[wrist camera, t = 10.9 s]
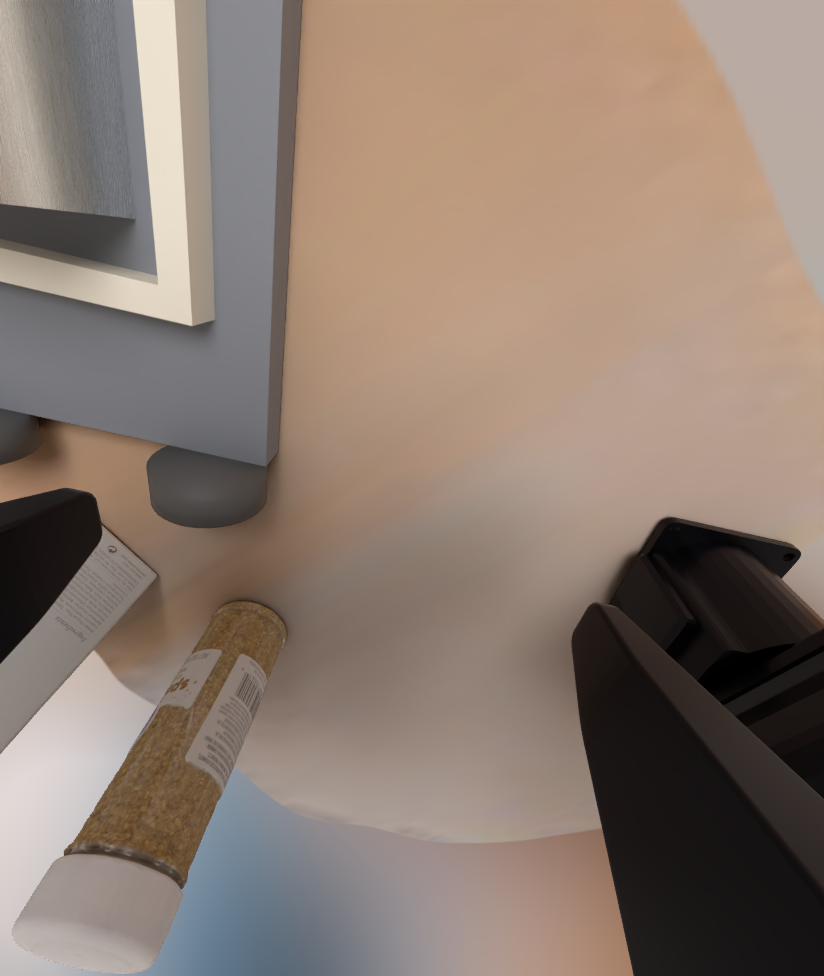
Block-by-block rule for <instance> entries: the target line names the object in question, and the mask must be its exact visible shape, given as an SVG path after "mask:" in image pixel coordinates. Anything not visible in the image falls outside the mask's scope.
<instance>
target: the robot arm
mask: <svg viewBox="0 0 824 976" xmlns="http://www.w3.org/2000/svg"><path fill="white" fill-rule="evenodd" d="M673 527H675V529H673V530H671V531H669V530H670V529H671V528H673ZM102 532H103V531H102V525H101V520H100V515H99V510H98V506H97V501H96V498H95V497H94V496H93V495H92V494H91V493H89V492H85V491H80V490H75V489H70V488H62V489H58V490H53V491H49V492H45V493H41V494H37V495H32V496H28V497H24V498H20V499H15V500H11V501H7V502H3V503H0V664H1V663H2V662H3V661H4V660H5V659H6V658H7V657H8V655H9V654H10V653H11V652H12V651H13V650H14V649H15V648H16V647H17V646H18V645H19V643H20V642H21V641H22V640H23V639H24V638H25V637H26V636H27V635H28V634H29V633H30V632H31V630H32V629H33V628H34V627H35V626H36V625H37V624H38V622H39V621H40V620H41V619H42V618H43V617H44V615H45V614H46V613H47V612H48V610H49V609H50V608H51V607H52V605H53V604H54V603H55V601H56V600H57V599H58V597H59V596H60V595H61V593H62V592H63V591H64V589H65V588H66V587H67V585H68V584H69V583H70V582H71V580H72V579H73V578H74V576H75V575H76V574H77V572H78V571H79V570H80V568H81V567H82V566H83V564H84V563H85V562H86V560H87V559H88V558H89V556H90V555H91V554H92V552H93V551H94V550H95V548H96V547H97V546H98V544H99V542H100V540H101V538H102ZM800 556H801V552H800V551H799V550H798V549H797V548H796V547H795V546H794V545H792V544H790V543H786V542H782V541H777V540H773V539H768V538H764V537H759V536H755V535H750V534H746V533H742V532H737V531H733V530H728V529H724V528H719V527H715V526H710V525H706V524H701V523H697V522H693V521H688V520H684V519H679V518H672V517H671V518H667V519H665V520H663V521H662V522H661V523H660V524H659V526H658V528H657V529H656V531H655V532H654V534H653V536H652V537H651V539H650V540H649V542H648V543H647V545H646V547H645V548H644V550H643V551H642V553H641V554H640V556H639V557H638V558H637V560H636V561H635V563H634V565H633V566H632V568H631V569H630V571H629V573H628V574H627V576H626V577H625V579H624V580H623V582H622V584H621V585H620V587H619V588H618V590H617V592H616V594H615V596H614V597H613V599H612V600H611V602H610V603H609V605H608V604H603V603H598V602H595V603H592V604H590V605H589V607H588V608H587V610H586V611H585V613H584V615H583V616H582V618H581V620H580V621H579V623H578V625H577V626H576V628H575V630H574V632H573V635H572V642H571V643H572V654H573V663H574V672H575V681H576V691H577V700H578V709H579V717H580V724H581V730H582V735H583V741H584V746H585V750H586V755H587V760H588V764H589V769H590V774H591V778H592V783H593V788H594V792H595V797H596V802H597V806H598V811H599V816H600V820H601V825H602V830H603V834H604V839H605V844H606V848H607V853H608V857H609V862H610V867H611V872H612V876H613V881H614V886H615V890H616V895H617V900H618V904H619V909H620V914H621V918H622V923H623V928H624V932H625V937H626V942H627V946H628V951H629V955H630V960H631V965H632V970H633V974H634V976H824V620H823V619H822V618H821V617H820V616H819V615H818V614H817V613H816V612H815V611H814V610H813V609H812V608H811V607H810V606H809V605H808V604H807V603H805V602H804V601H803V600H802V599H801V598H800V597H799V596H798V595H797V594H796V593H795V592H794V591H793V590H792V589H791V588H790V587H789V586H788V585H787V584H786V583H785V582H784V581H783V580H782V578H783V576H784V575H785V574H786V573H787V572H788V571H789V570H790V569H791V568H792V566H793V565H794V564H795V563H796V562H797V561H798V560H799V558H800Z"/></svg>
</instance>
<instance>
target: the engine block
mask: <svg viewBox="0 0 824 976" xmlns="http://www.w3.org/2000/svg"><path fill="white" fill-rule="evenodd" d="M0 204H8V205H17V206H25V207H34V208H43V209H52V210H61V211H70V212H78V213H87V214H96V215H105V216H114V217H123V218H132V219H136V214H135V204H134V195H133V185H132V176H131V167H130V157H129V148H128V138H127V129H126V119H125V110H124V101H123V91H122V82H121V72H120V63H119V54H118V44H117V35H116V25H115V16H114V7H113V0H0Z"/></svg>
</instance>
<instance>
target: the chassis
mask: <svg viewBox="0 0 824 976" xmlns="http://www.w3.org/2000/svg"><path fill="white" fill-rule="evenodd" d="M113 7H114V16H115V25H116V35H117V44H118V54H119V63H120V72H121V82H122V91H123V101H124V110H125V119H126V129H127V138H128V148H129V157H130V167H131V176H132V185H133V195H134V204H135V214H136V219H132V218H123V217H114V216H105V215H96V214H87V213H78V212H70V211H61V210H52V209H43V208H34V207H25V206H17V205H8V204H0V465H2V464H6V463H9V462H13V461H15V460H18V459H21V458H23V457H25V456H27V455H29V454H31V453H33V452H34V451H36V450H37V449H38V448H39V447H40V446H41V444H42V435H41V432H40V428H39V424H38V420H37V417H36V416H38V417H43V418H48V419H52V420H57V421H61V422H66V423H70V424H75V425H79V426H84V427H88V428H93V429H97V430H102V431H106V432H111V433H116V434H120V435H125V436H129V437H134V438H138V439H143V440H147V441H152V442H156V443H161V444H165V445H169V446H166V447H164V448H162V449H160V450H158V451H157V452H155V453H154V454H153V455H152V456H151V457H150V458H149V460H148V462H147V475H148V483H149V491H150V498H151V505H152V508H153V509H154V511H155V512H156V513H157V514H158V515H159V516H160V517H162V518H163V519H165V520H167V521H169V522H172V523H174V524H178V525H181V526H186V527H194V528H217V527H224V526H229V525H233V524H237V523H240V522H242V521H245V520H247V519H249V518H251V517H253V516H254V515H256V514H257V513H258V512H259V511H260V510H261V509H262V508H263V507H264V505H265V503H266V498H267V473H268V463H269V462H270V461H271V460H272V459H273V458H274V456H275V455H276V454H277V453H278V449H279V430H280V411H281V392H282V373H283V354H284V335H285V316H286V297H287V278H288V259H289V240H290V221H291V202H292V183H293V164H294V145H295V126H296V107H297V88H298V69H299V50H300V31H301V12H302V0H113Z"/></svg>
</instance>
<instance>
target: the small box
mask: <svg viewBox="0 0 824 976" xmlns="http://www.w3.org/2000/svg"><path fill="white" fill-rule="evenodd" d="M101 525H102V524H101ZM102 531H103V532H102V538H101V540H100V542H99V544H98V546H97V547H96V548H95V550H94V551H93V552H92V554H91V555H90V556H89V558H88V559H87V560H86V562H85V563H84V564H83V566H82V567H81V568H80V570H79V571H78V572H77V574H76V575H75V576H74V578H73V579H72V580H71V582H70V583H69V584H68V585H67V587H66V588H65V589H64V591H63V592H62V593H61V595H60V596H59V597H58V599H57V600H56V601H55V603H54V604H53V605H52V607H51V608H50V609H49V610H48V612H47V613H46V614H45V615H44V617H43V618H42V619H41V620H40V621H39V622H38V624H37V625H36V626H35V627H34V628H33V629H32V630H31V632H30V633H29V634H28V635H27V636H26V637H25V638H24V639H23V640H22V641H21V642H20V643H19V645H18V646H17V647H16V648H15V649H14V650H13V651H12V652H11V653H10V654H9V655H8V657H7V658H6V659H5V660H4V661H3V662H2V663H1V664H0V754H1V753H2V751H3V750H4V749H5V748H6V747H7V746H8V745H9V744H10V742H11V741H12V740H13V739H14V738H15V737H16V736H17V735H18V733H19V732H20V731H21V730H22V729H23V728H24V727H25V726H26V724H27V723H28V722H29V721H30V720H31V719H32V717H33V716H34V715H35V714H36V713H37V712H38V711H39V710H40V708H41V707H42V706H43V705H44V704H45V703H46V702H47V701H48V700H49V699H50V697H51V696H52V695H53V694H54V693H55V692H56V691H57V690H58V689H59V688H60V686H61V685H62V684H63V683H64V682H65V681H66V680H67V678H69V677H70V675H71V674H72V673H73V672H74V671H75V670H76V668H77V667H78V666H79V665H80V664H81V663H82V662H83V661H84V660H85V659H86V657H87V656H88V655H89V654H90V653H91V652H92V651H93V650H94V648H95V647H96V646H97V645H98V644H99V643H100V642H101V641H102V639H103V638H104V637H105V636H106V635H107V634H108V633H109V632H110V630H111V629H112V628H113V627H114V626H115V625H116V623H117V622H118V621H119V620H120V619H121V618H122V617H123V616H124V615H125V613H126V612H127V611H128V610H129V609H130V608H131V607H132V606H133V604H134V603H135V602H136V601H137V600H138V598H139V597H140V596H141V595H142V594H143V593H144V592H145V591H146V589H147V588H148V587H149V586H150V585H151V584H152V582H153V581H154V580H155V579H156V578H157V574H156V573H155V572H154V571H153V570H152V569H150V568H149V567H148V566H147V565H146V564H145V563H144V562H143V561H141V560H140V559H139V558H138V557H137V556H136V555H135V554H134V553H133V552H131V551H130V550H129V549H128V548H127V547H126V546H125V545H124V544H122V543H121V542H120V541H119V540H118V539H117V538H116V537H115V536H114V535H113V534H111V533H110V532H109V531H108V530H107V529H106V528H105V527H104V526H103V525H102Z"/></svg>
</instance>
